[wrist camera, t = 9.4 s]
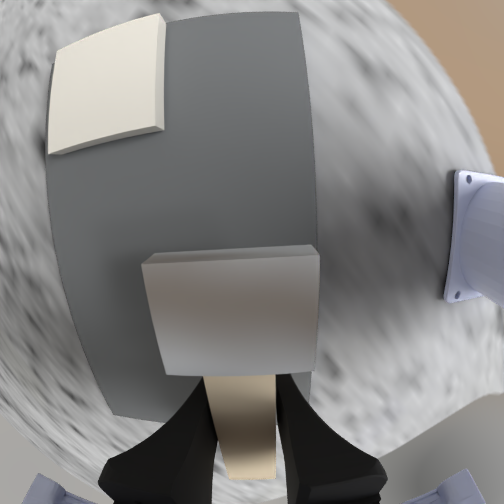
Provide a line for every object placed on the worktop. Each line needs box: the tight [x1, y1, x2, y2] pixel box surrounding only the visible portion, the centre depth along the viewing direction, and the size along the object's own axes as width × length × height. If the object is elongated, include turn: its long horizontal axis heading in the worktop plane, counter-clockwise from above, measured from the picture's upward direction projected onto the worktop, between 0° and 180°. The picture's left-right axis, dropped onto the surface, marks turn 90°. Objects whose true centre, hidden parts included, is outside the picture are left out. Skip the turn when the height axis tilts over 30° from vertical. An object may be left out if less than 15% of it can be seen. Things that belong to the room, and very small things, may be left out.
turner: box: [141, 245, 320, 480], centre depth 11 cm, size 12×5×5 cm, turn 3°
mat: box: [45, 12, 317, 425], centre depth 13 cm, size 14×24×1 cm, turn 3°
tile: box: [48, 13, 166, 155], centre depth 10 cm, size 6×1×6 cm
